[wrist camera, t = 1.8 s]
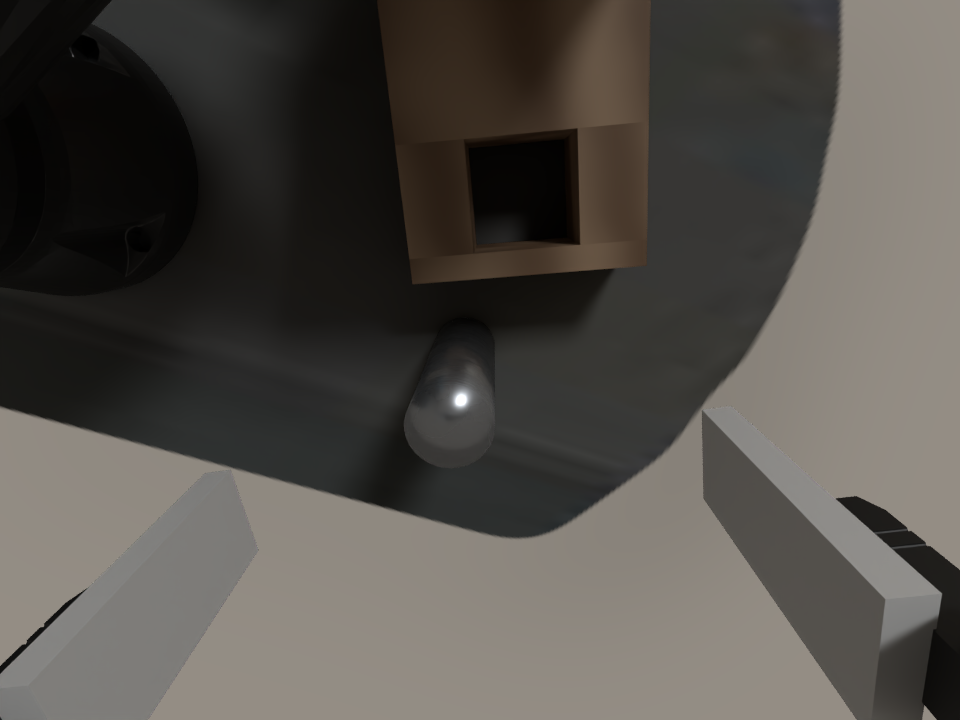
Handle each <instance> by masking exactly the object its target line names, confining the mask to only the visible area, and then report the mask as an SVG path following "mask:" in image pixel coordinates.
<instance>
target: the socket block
mask: <svg viewBox="0 0 960 720" xmlns="http://www.w3.org/2000/svg"><path fill="white" fill-rule="evenodd" d="M650 3H651V0H377V5H378V13H379V21H380V29H381V37H382V45H383V53H384V61H385V69H386V77H387V85H388V93H389V101H390V109H391V117H392V125H393V133H394V141H395V149H396V157H397V165H398V173H399V181H400V189H401V197H402V205H403V213H404V220H405V228H406V236H407V244H408V252H409V260H410V268H411V276H412V284H424V283H436V282H449V281H461V280H474V279H486V278H499V277H511V276H523V275H536V274H548V273H561V272H573V271H586V270H598V269H610V268H623V267H635V266H647V200H648V135H649V69H650ZM563 139H564V161H565V192H566V224H567V237H564V238H553V239H541V240H529V241H517V242H505V243H493V244H481V245H477V242H476V230H475V218H474V206H473V194H472V183H471V171H470V159H469V148H478V147H489V146H499V145H510V144H521V143H531V142H542V141H553V140H563Z"/></svg>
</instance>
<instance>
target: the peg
mask: <svg viewBox="0 0 960 720" xmlns="http://www.w3.org/2000/svg"><path fill="white" fill-rule="evenodd" d="M404 432H405V436H406V439H407V441H408V443H409V445H410V447H411V448H412V450H413V451H414V452H415V453H416V454H417V455H418V456H419V457H420V458H421V459H423V460H425V461H426V462H428V463H430V464H432V465H435V466H439V467H444V468H458V467H463V466H466V465H469V464H471V463H473V462H475V461H477V460H478V459H479V458H481V457H482V456H483V455H484V454H485V453H486V452H487V450H488V449H489V447H490V446H491V443H492V441H493V438H494V433H495V344H494V339H493V336H492V334H491V332H490V330H489V329H488V328H487V327H486V326H485V325H484V324H483V323H481V322H480V321H478V320H475V319H472V318H457V319H454V320H452V321H450V322H448V323H447V324H445V325H444V326H443V327H442V329H441V330H440V331H439V333H438V335H437V338H436V340H435V343H434V345H433V348H432V350H431V353H430V355H429V357H428V360H427V362H426V365H425V367H424V370H423V372H422V375H421V377H420V380H419V382H418V384H417V387H416V389H415V392H414V394H413V397H412V399H411V402H410V404H409V407H408V409H407V412H406V414H405V419H404Z"/></svg>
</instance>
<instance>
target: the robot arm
mask: <svg viewBox="0 0 960 720" xmlns="http://www.w3.org/2000/svg"><path fill="white" fill-rule="evenodd" d="M111 1H112V0H0V287H4V288H11V289H18V290H25V291H31V292H38V293H45V294H52V295H61V296H80V295H92V294H98V293H103V292H107V291H111V290H115V289H119V288H123V287H127V286H130V285H133V284H136V283H139V282H141V281H143V280H145V279H147V278H149V277H150V276H152V275H154V274H155V273H156V272H158V271H159V270H160V269H162V268H163V267H164V266H165V265H166V264H167V263H168V262H169V261H170V260H171V259H172V258H173V257H174V255H175V254H176V253H177V252H178V250H179V249H180V247H181V245H182V244H183V242H184V240H185V238H186V236H187V234H188V232H189V229H190V227H191V224H192V221H193V217H194V213H195V208H196V202H197V191H198V179H197V167H196V160H195V155H194V150H193V146H192V142H191V139H190V136H189V133H188V130H187V127H186V125H185V122H184V120H183V118H182V115H181V113H180V111H179V109H178V107H177V106H176V104H175V102H174V100H173V98H172V97H171V95H170V94H169V92H168V91H167V89H166V87H165V86H164V85H163V83H162V82H161V81H160V79H159V78H158V77H157V75H156V74H155V73H154V72H153V71H152V70H151V68H150V67H149V66H148V65H147V64H146V63H145V62H144V61H143V60H142V59H141V58H140V57H139V56H138V55H137V54H136V53H135V52H134V51H132V50H131V49H130V48H129V47H127V46H126V45H125V44H124V43H122V42H121V41H120V40H118V39H117V38H115V37H114V36H112V35H111V34H109V33H108V32H106V31H104V30H102V29H100V28H99V27H97V26H95V25H93V24H91V23H92V22H93V21H94V20H95V18H96V17H97V16H98V15H99V14H100V13H101V12H102V11H103V9H104V8H105V7H106V6H107V5H108V4H109V3H110V2H111ZM702 438H703V489H704V492H703V494H704V500H705V501H706V503H707V504H708V506H709V507H710V508H711V510H712V511H713V513H714V514H715V516H716V517H717V518H718V520H719V521H720V523H721V524H722V526H723V527H724V529H725V530H726V532H727V533H728V534H729V536H730V537H731V539H732V540H733V542H734V543H735V545H736V546H737V547H738V549H739V550H740V552H741V553H742V555H743V556H744V558H745V559H746V560H747V562H748V563H749V565H750V566H751V568H752V569H753V570H754V572H755V573H756V575H757V576H758V578H759V579H760V581H761V582H762V583H763V585H764V586H765V588H766V589H767V591H768V592H769V593H770V595H771V597H772V598H773V599H774V601H775V602H776V604H777V605H778V607H779V608H780V609H781V611H782V612H783V614H784V615H785V617H786V618H787V620H788V621H789V622H790V624H791V625H792V627H793V628H794V630H795V631H796V633H797V634H798V635H799V637H800V638H801V640H802V641H803V643H804V644H805V645H806V647H807V648H808V650H809V651H810V653H811V654H812V656H813V657H814V659H815V660H816V661H817V663H818V664H819V666H820V667H821V669H822V670H823V671H824V673H825V674H826V676H827V677H828V679H829V680H830V682H831V683H832V685H833V686H834V687H835V689H836V690H837V692H838V693H839V695H840V696H841V697H842V699H843V700H844V702H845V703H846V705H847V706H848V708H849V709H850V711H851V712H852V713H853V715H854V716H855V718H856V719H857V720H922V715H923V710H924V705H925V706H926V707H927V708H928V710H929V711H930V712H931V713H932V714H933V716H934V717H935V718H936V719H937V720H960V570H959V569H958V568H957V567H955V566H954V565H953V564H952V563H950V562H949V561H948V560H947V559H945V558H944V557H943V556H942V555H940V554H939V553H938V552H937V551H935V550H934V549H933V548H932V547H931V546H926V543H925V542H924V541H923V540H922V539H921V538H919V537H918V536H917V535H916V534H914V533H913V532H912V531H908V530H907V527H906V526H904V525H903V524H902V523H901V522H899V521H898V520H897V519H896V518H894V517H893V516H892V515H891V514H890V513H888V512H887V511H886V510H884V509H882V508H880V507H878V506H876V505H874V504H871V503H870V502H867V501H865V500H863V499H861V498H859V497H857V496H854V497H845V498H836V499H835V498H834V497H833V496H832V495H831V494H830V493H828V492H827V491H826V490H825V489H824V488H823V487H821V485H819V484H818V483H817V482H816V481H815V480H814V479H813V478H812V477H810V476H809V475H808V474H807V473H806V472H805V471H804V470H803V469H801V468H800V467H799V466H798V465H797V464H796V463H795V462H794V461H793V460H791V459H790V458H789V457H788V456H787V455H786V454H785V453H784V452H782V451H781V450H780V449H779V448H778V447H777V446H776V445H774V444H773V443H772V442H771V441H770V440H769V439H768V438H767V437H766V436H764V435H763V434H762V433H761V432H760V431H759V430H758V429H756V428H755V427H754V426H753V425H752V424H751V423H750V422H749V421H748V420H746V419H745V418H744V417H743V416H742V415H741V414H739V412H737V411H736V410H735V409H734V408H733V407H732V406H728V407H720V408H712V409H704V410H702ZM257 552H258V547H257V545H256V542H255V539H254V536H253V533H252V530H251V527H250V524H249V521H248V518H247V515H246V513H245V510H244V507H243V504H242V501H241V498H240V495H239V492H238V489H237V486H236V484H235V481H234V478H233V475H232V472H231V470H226V471H218V472H211V473H205V474H204V475H203V476H202V477H201V478H200V479H199V480H198V481H197V482H196V483H195V484H194V485H193V486H192V487H190V489H188V491H186V492H185V493H184V494H183V495H182V496H181V497H180V498H179V499H178V500H177V501H176V502H175V503H174V504H173V505H172V506H171V507H170V508H169V509H168V510H167V511H166V512H165V513H164V514H163V515H162V516H161V517H160V518H159V519H158V520H157V521H156V522H155V523H154V524H153V525H152V526H151V527H150V528H149V529H148V530H147V531H146V532H145V533H144V534H143V535H142V536H140V538H139V539H137V540H136V541H135V542H134V543H133V544H132V545H131V546H130V547H129V548H128V549H127V550H126V551H125V552H124V553H123V554H122V555H121V556H120V557H119V558H118V559H117V560H116V561H115V562H114V563H113V564H112V565H111V566H110V567H109V568H108V569H107V570H106V571H105V572H104V573H103V574H102V575H101V576H100V577H99V578H98V579H97V580H96V581H95V582H94V583H93V584H92V585H91V586H89V587H88V588H87V589H85V590H84V591H83V592H81V593H79V594H78V595H77V596H75V597H74V598H72V599H71V600H69V601H68V602H66V603H65V604H64V605H63V606H62V607H61V608H60V609H59V610H58V611H57V612H56V613H55V614H54V615H53V616H52V617H51V618H50V619H49V620H48V621H46V622H45V623H44V627H41V628H39V629H38V630H37V631H36V632H35V633H34V634H33V635H32V636H31V637H30V638H29V639H28V640H27V643H26V644H24V645H22V646H21V647H19V648H18V649H17V650H16V651H15V652H14V653H13V654H12V655H11V656H10V657H9V658H8V659H7V660H6V661H5V662H4V663H3V664H2V665H1V666H0V720H148V719H149V717H150V716H151V714H152V713H153V711H154V710H155V708H156V707H157V705H158V703H159V702H160V700H161V699H162V697H163V696H164V694H165V693H166V691H167V689H168V688H169V687H170V685H171V684H172V682H173V680H174V679H175V677H176V676H177V674H178V673H179V671H180V670H181V668H182V667H183V665H184V664H185V662H186V660H187V659H188V657H189V656H190V654H191V653H192V651H193V650H194V648H195V647H196V645H197V644H198V642H199V641H200V639H201V638H202V636H203V634H204V633H205V631H206V630H207V628H208V626H209V625H210V624H211V622H212V621H213V619H214V618H215V616H216V615H217V613H218V611H219V610H220V608H221V607H222V605H223V604H224V602H225V601H226V599H227V597H228V596H229V595H230V593H231V591H232V590H233V588H234V587H235V585H236V584H237V582H238V581H239V579H240V578H241V576H242V575H243V573H244V572H245V570H246V568H247V567H248V565H249V564H250V562H251V561H252V559H253V558H254V556H255V555H256V553H257Z"/></svg>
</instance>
